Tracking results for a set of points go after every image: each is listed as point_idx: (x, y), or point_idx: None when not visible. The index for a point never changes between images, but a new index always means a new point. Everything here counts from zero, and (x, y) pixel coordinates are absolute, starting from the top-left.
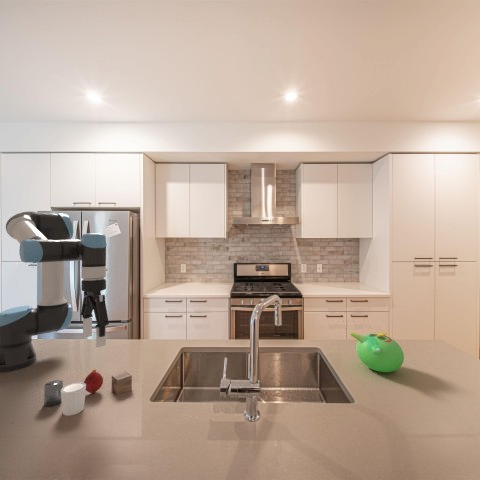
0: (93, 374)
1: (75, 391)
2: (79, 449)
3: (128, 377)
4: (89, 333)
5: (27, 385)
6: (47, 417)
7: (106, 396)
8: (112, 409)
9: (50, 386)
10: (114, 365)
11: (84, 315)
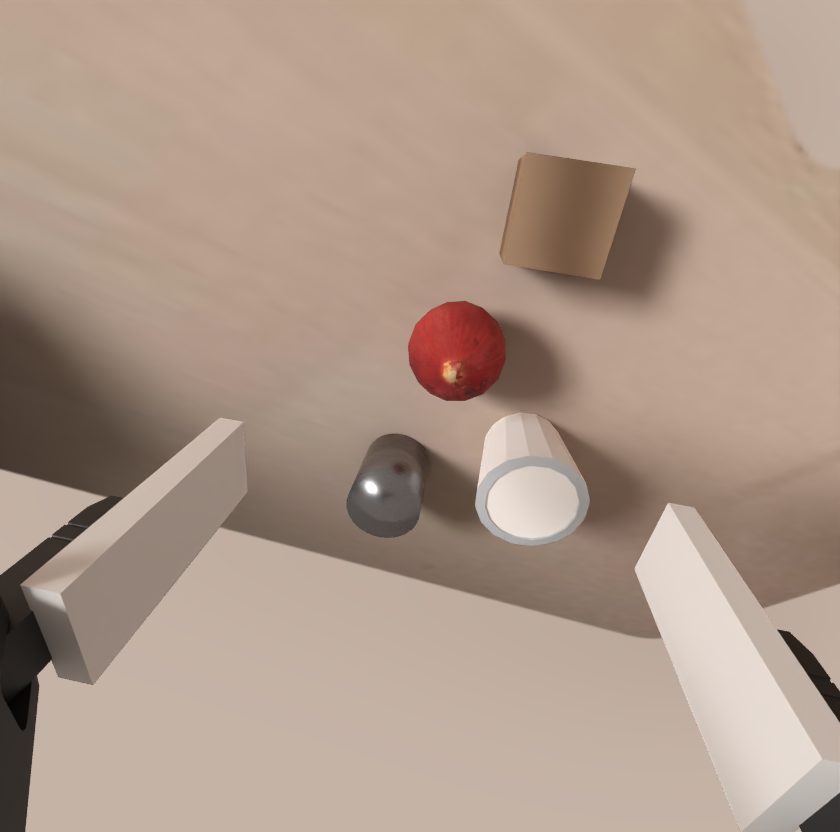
0: (470, 378)
1: (579, 516)
2: (764, 532)
3: (623, 196)
4: (226, 462)
5: None
6: None
7: (544, 310)
8: (676, 355)
9: (399, 525)
10: (189, 40)
11: (30, 751)
